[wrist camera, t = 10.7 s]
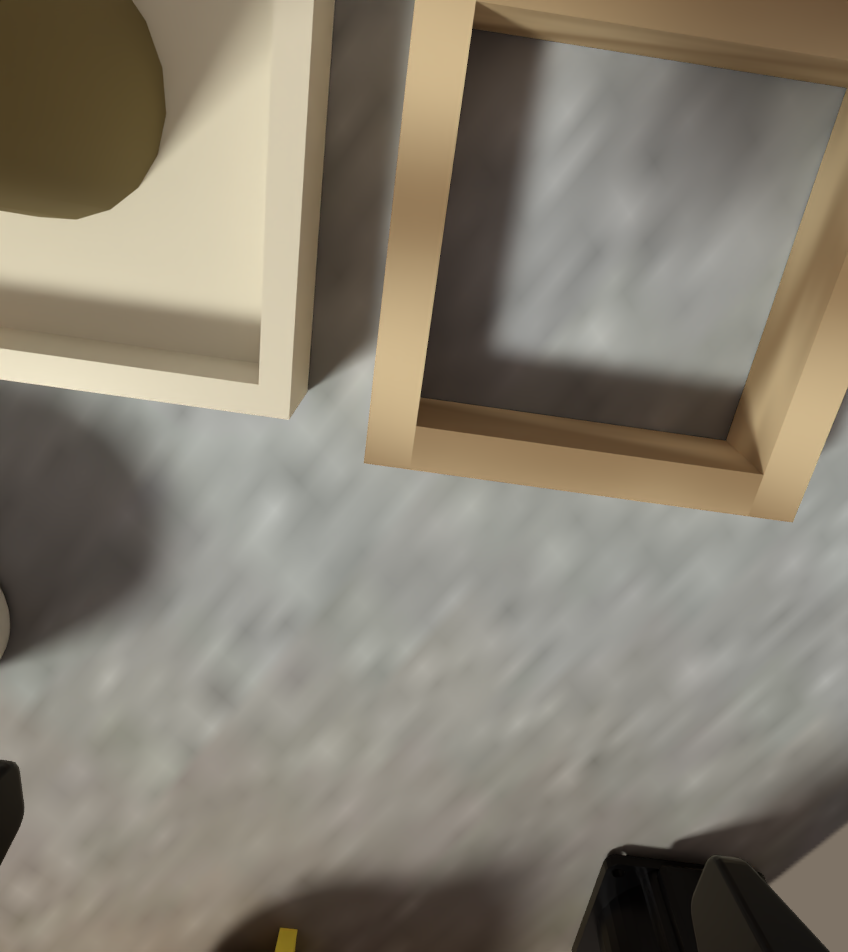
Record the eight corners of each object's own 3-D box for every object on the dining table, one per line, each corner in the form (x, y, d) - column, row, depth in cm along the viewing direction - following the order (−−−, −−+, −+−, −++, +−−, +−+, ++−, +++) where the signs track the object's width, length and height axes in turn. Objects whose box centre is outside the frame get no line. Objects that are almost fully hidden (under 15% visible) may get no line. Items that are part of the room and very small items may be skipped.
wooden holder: (752, 483, 20) (792, 522, 18) (373, 430, 20) (363, 463, 17) (918, 36, 15) (1001, 10, 13) (427, -43, 15) (424, -84, 13)
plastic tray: (307, 391, 19) (289, 419, 17) (-175, 323, 19) (-261, 343, 16) (351, -243, 14) (333, -329, 11) (-326, -358, 13) (-487, -471, 11)
